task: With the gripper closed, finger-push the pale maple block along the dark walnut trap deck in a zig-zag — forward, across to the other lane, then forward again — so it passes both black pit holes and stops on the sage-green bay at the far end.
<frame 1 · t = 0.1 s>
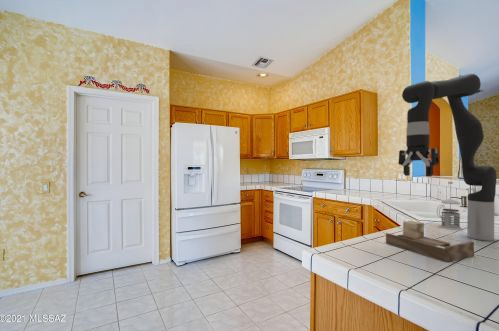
hand: (417, 176, 100), 29 cm above the countertop, tool pointing down, fingers open, 8 cm apart
french press: (448, 228, 138), on the countertop
block: (413, 236, 112), point 2 cm above the countertop, touching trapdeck
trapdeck: (426, 248, 103), on the countertop
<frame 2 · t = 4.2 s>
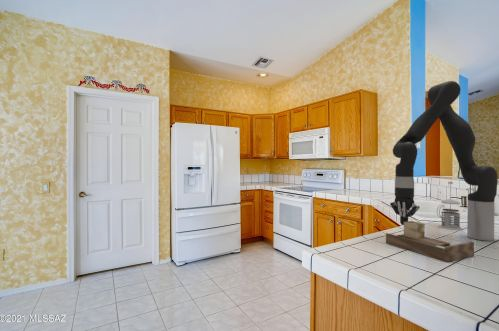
hand: (404, 224, 116), 6 cm above the countertop, tool pointing down, fingers closed
block: (414, 236, 112), point 3 cm above the countertop, touching gripper
everything else where it was.
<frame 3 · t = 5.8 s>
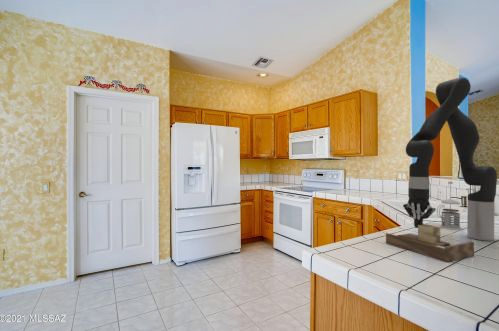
hand: (418, 227, 110), 7 cm above the countertop, tool pointing down, fingers closed
block: (428, 240, 106), point 2 cm above the countertop, touching gripper, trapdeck
everything else where it was.
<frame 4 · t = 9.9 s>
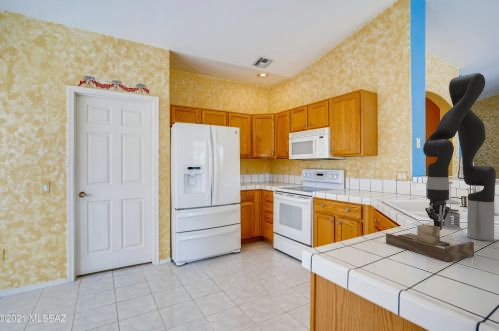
hand: (437, 229, 106), 7 cm above the countertop, tool pointing down, fingers closed
block: (428, 240, 105), point 2 cm above the countertop, touching gripper
everything else where it was.
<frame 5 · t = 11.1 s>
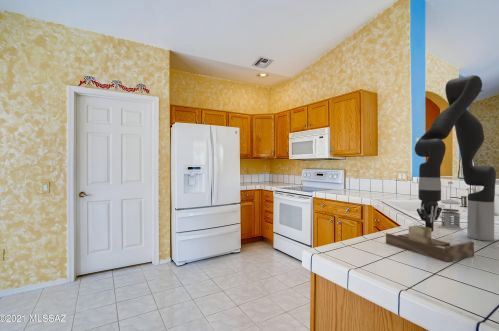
hand: (429, 231, 104), 7 cm above the countertop, tool pointing down, fingers closed
block: (419, 242, 103), point 2 cm above the countertop, touching gripper, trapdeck
everything else where it was.
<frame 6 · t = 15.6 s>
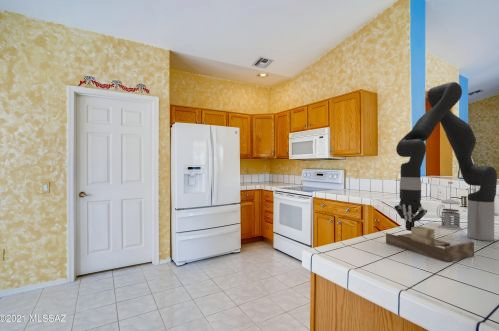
hand: (409, 230, 106), 7 cm above the countertop, tool pointing down, fingers closed
block: (422, 243, 102), point 2 cm above the countertop, touching gripper
everything else where it was.
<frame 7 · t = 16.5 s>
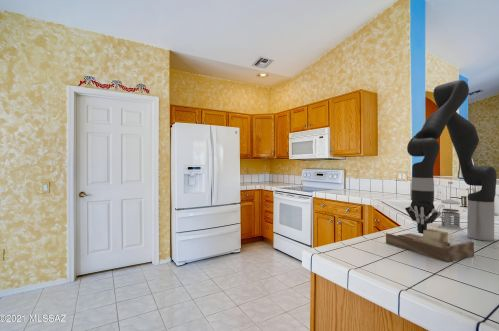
hand: (421, 233, 101), 7 cm above the countertop, tool pointing down, fingers closed
block: (435, 246, 97), point 2 cm above the countertop, touching gripper, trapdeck
everything else where it was.
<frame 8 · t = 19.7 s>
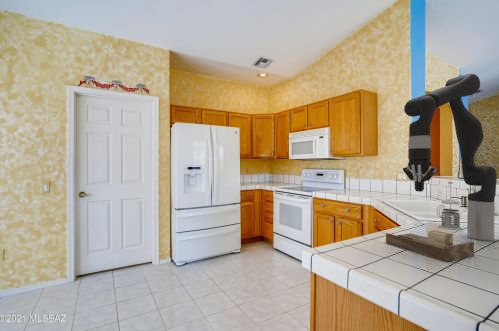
hand: (419, 191, 102), 23 cm above the countertop, tool pointing down, fingers closed
block: (440, 248, 96), point 2 cm above the countertop, touching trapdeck
everything else where it was.
at the end: block inside the target area on the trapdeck (1.6 cm from its centre), point 2.4 cm above the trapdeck's base; block tilted 1° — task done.
